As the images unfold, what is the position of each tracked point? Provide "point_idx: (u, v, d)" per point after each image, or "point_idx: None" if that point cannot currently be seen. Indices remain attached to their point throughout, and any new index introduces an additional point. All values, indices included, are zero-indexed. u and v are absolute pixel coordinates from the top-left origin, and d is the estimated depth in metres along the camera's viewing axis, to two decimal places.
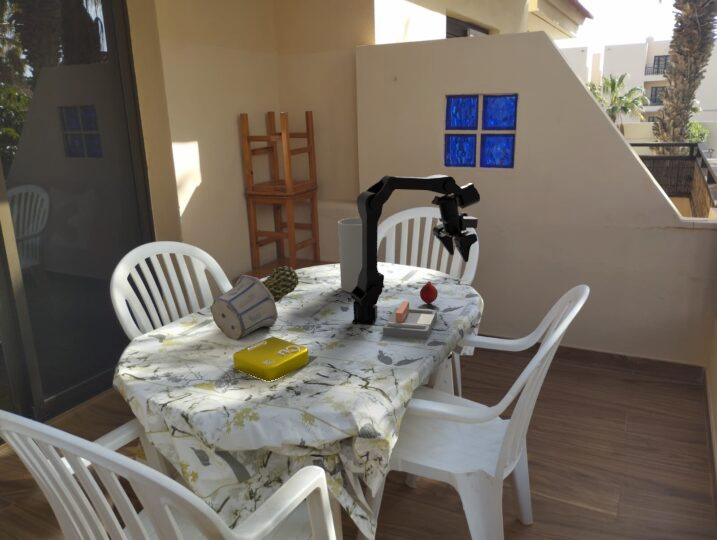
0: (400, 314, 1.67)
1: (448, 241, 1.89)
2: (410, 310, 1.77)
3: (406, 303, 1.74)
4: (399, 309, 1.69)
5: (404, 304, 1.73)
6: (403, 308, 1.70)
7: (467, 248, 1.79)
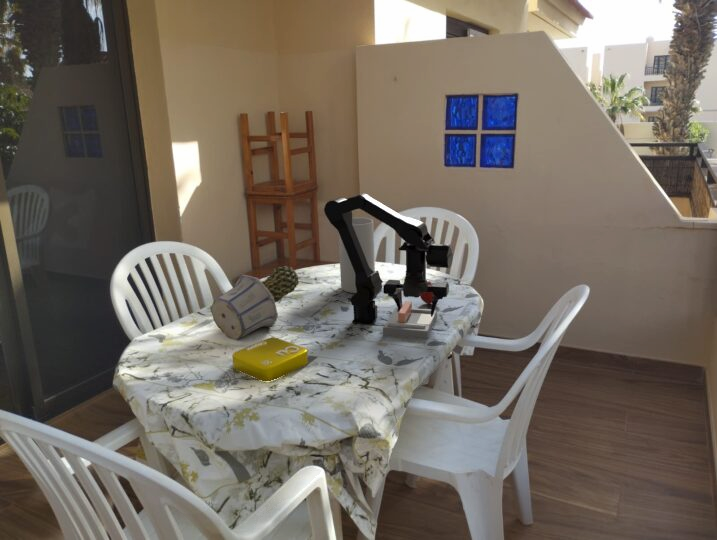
0: (403, 314, 1.66)
1: None
2: None
3: (409, 303, 1.74)
4: (402, 309, 1.69)
5: (407, 304, 1.73)
6: (406, 308, 1.70)
7: None
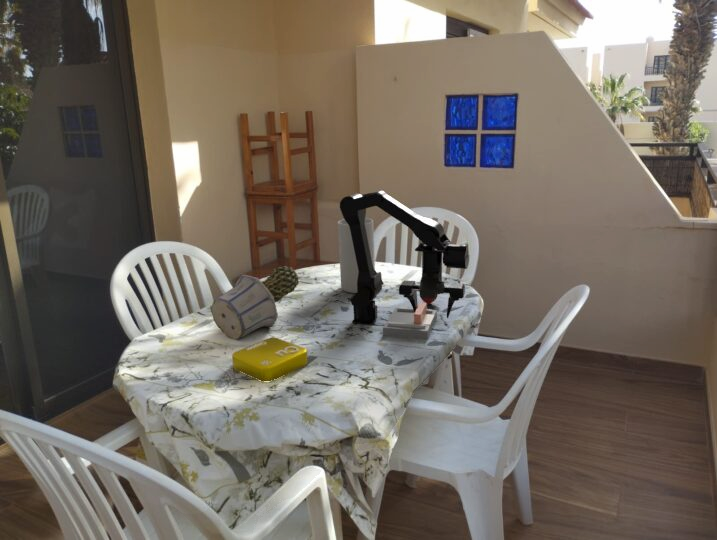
0: (418, 315, 1.65)
1: None
2: (410, 310, 1.77)
3: (424, 304, 1.73)
4: (417, 310, 1.68)
5: (422, 305, 1.72)
6: (421, 309, 1.69)
7: None
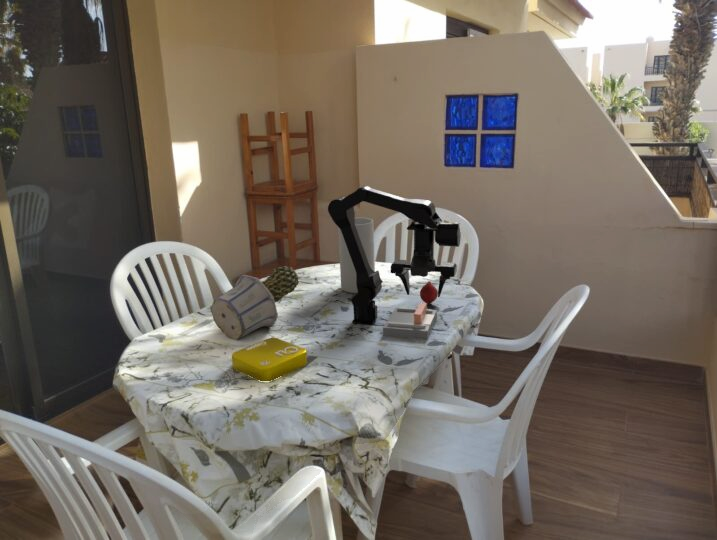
0: (418, 315, 1.65)
1: None
2: (410, 310, 1.77)
3: (424, 304, 1.73)
4: (417, 310, 1.68)
5: (422, 305, 1.72)
6: (421, 309, 1.69)
7: None
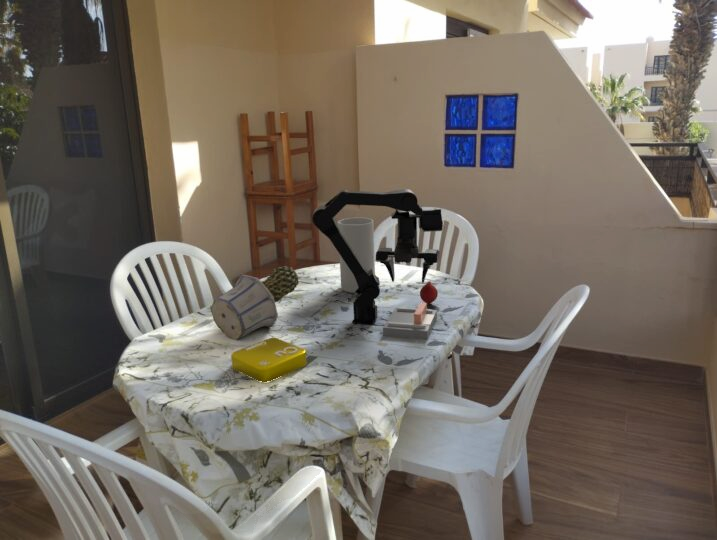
0: (418, 315, 1.65)
1: None
2: (410, 310, 1.77)
3: (424, 304, 1.73)
4: (417, 310, 1.68)
5: (422, 305, 1.72)
6: (421, 309, 1.69)
7: None
